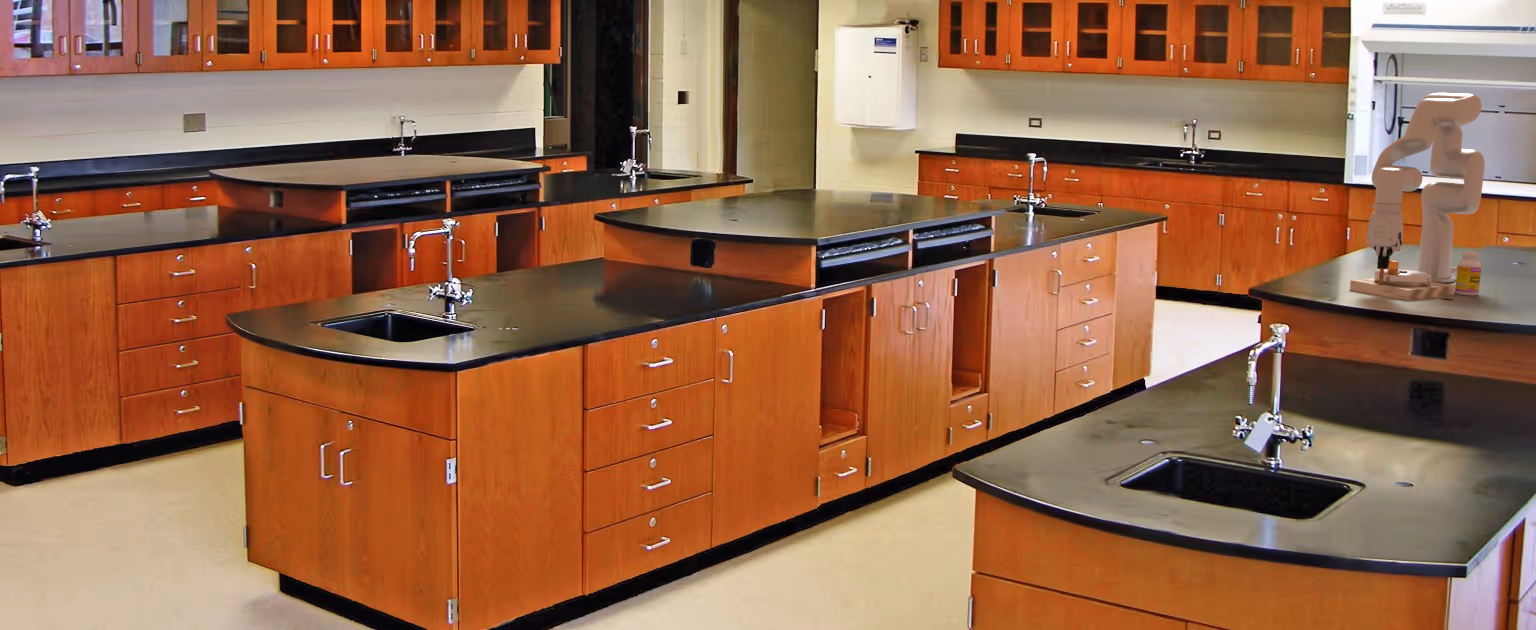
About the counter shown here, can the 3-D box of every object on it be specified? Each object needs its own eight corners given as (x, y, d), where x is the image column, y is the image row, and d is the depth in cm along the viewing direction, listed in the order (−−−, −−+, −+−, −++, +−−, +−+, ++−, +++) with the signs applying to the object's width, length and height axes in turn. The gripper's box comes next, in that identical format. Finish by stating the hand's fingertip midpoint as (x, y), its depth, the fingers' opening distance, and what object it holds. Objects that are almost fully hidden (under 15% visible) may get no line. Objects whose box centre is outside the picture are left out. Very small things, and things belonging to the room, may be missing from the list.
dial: (1394, 277, 486) (1395, 255, 485) (1441, 284, 473) (1443, 261, 472) (1363, 281, 477) (1365, 258, 476) (1410, 288, 464) (1412, 265, 463)
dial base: (1395, 285, 490) (1397, 260, 488) (1453, 295, 472) (1456, 269, 470) (1349, 289, 479) (1351, 264, 478) (1407, 300, 461) (1410, 273, 460)
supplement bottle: (1468, 296, 470) (1472, 254, 467) (1449, 293, 475) (1453, 251, 473) (1483, 295, 473) (1487, 253, 470) (1464, 292, 478) (1468, 250, 476)
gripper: (1359, 206, 475) (1354, 266, 479) (1399, 211, 463) (1394, 272, 466) (1376, 205, 479) (1371, 264, 482) (1417, 210, 466) (1411, 271, 469)
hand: (1382, 268), depth 474 cm, fingers closed
